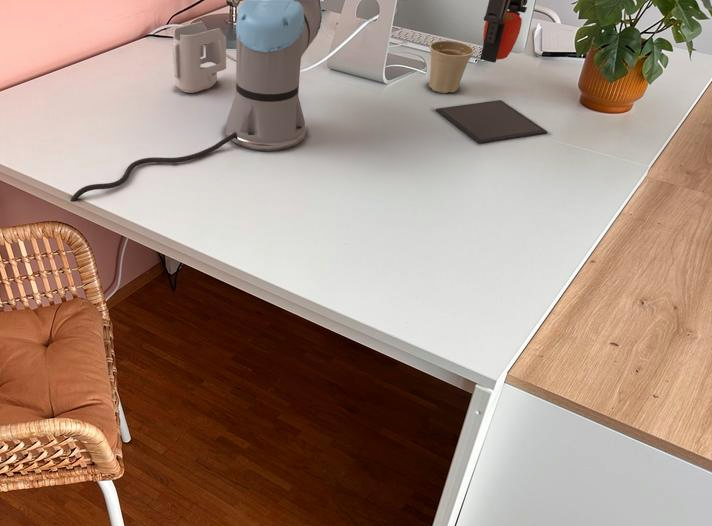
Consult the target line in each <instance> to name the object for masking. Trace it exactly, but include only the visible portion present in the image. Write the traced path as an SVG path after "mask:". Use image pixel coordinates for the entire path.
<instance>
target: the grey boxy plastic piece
mask: <svg viewBox="0 0 712 526" xmlns="http://www.w3.org/2000/svg"><path fill="white" fill-rule="evenodd" d="M172 36H173V44H172V54H173V55H172V56H173V58H172V59H173V60H172V61H173V76H174V78H175V87H177V89H179V90H180V91H181V92H183V93H188V94H189V93H190V94H191V93H197V92H201V91H203V90H208V89H210V88H212V87H213V86H214V85H215V84H216V82H217V81H218V73H219V72H222V71H225V70H226V69H227V37H226V36H225V34H224V32H223V31H222V29H221V27H217V28H214V29H209V30H208V28H207V27H206V25H205V23H204V21H202V20H201V21H196V22H193V23H189V24H185V25H182V26H178V27H175V28H173V30H172ZM204 46H205V47H204ZM204 48H205V51H204ZM204 54H205V57H204ZM207 63H212V64H213V65H210V66H201V65H205V64H207Z"/></svg>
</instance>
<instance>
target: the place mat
mask: <svg viewBox="0 0 712 526" xmlns="http://www.w3.org/2000/svg"><path fill="white" fill-rule="evenodd" d="M435 112H437V113H438V114H439V115H441V116H442V117H443V118H445V119H446V120H447V121H449V123H451V124H452V125H453V126H455V127H456V128H458V129H459V130H460V131H461V132H463V133H464V134H465V135H467V136H468V137H469V138H470V139H472V140H473V141H474V142H476V143H477V144H478V145H481V144H487V143H493V142H499V141H507V140H512V139H519V138H526V137H533V136H538V135H547V134H548V131H547V130H546V129H544V128H543V127H542V126H540V125H538V124H537V123H535V122H534V121H532V120H531V119H529V118H528V117H527V116H525V115H524V114H522V113H521V112H519V110H516V109H515V108H513V107H511V106H510V105H509V104H508V103H506V102H504V101H503V100H502V99H500V100H499V99H498V100H490V101H484V102H477V103H468V104H463V105H462V104H461V105H456V106H455V105H454V106H448V107H447V106H446V107H440V108H435Z"/></svg>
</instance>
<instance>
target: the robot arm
mask: <svg viewBox="0 0 712 526" xmlns="http://www.w3.org/2000/svg"><path fill="white" fill-rule="evenodd" d="M527 4H528V0H488V3H487V7H486V11H485V15H484V17H483V21H484V22H486V21H488V22H489V23H488V27H487V31H486V36H485V40H484V44H483V45H482V48H481V49H482V50H481V52H480V53H481V54H480V60H482V61H485V62H490V63H493V64H495V63H496V62H497V60H496V59H497V55H498V51H499V47H500V43H501V39H502V35H503V31H504V27H505V23H503V22H504V19H505V16H506V13H507V12H509V13H516V14H517V15H519V16H520V15H521V13H522V14H525V13H526V11H527V9H528V7H527ZM520 17H521V16H520ZM322 19H323V6H322V1H321V0H244V1H243V2H242V3H241V4H240V6H239V7H238V9H237V15H236V21H235V34H236V38H235V39H236V43H235V45H236V47H235V48H236V49H235V51H236V54H235V55H236V56H235V57H236V58H235V61H236V63H235V66H236V68H235V95H234V97H233V100H232V104H231V107H230V109H229V113H228V116H227V118H226V123H225V128H226V129H225V134H226V137H224V138H223V139H221V140H220V141H218V142H217V143H216V144H214V145H212V146H210V147H208V148H206V149H204V150H201V151H199V152H195V153H192V154H188V155H184V156H178V157H177V156H176V157H154V156H153V157H145V158H140V159H137V160H135V161H133V162H131V163H130V164H129V165H128V167H127V168H126V169H125V171H124V174H123V175H122V176H121V177H120V178H119V179H118V180H115V181H113V182H112V181H111V182H107V183H105V182H104V183H94V184H88V185H85V186H83V187H81V188H80V189H78V190H77V191H75V193H74V194H73V195H72V196H71V198H70V200H69V202H70V203H75V202H77V201H78V200H79V198H80V197H81V196H82V195H83V194H85V193H87V192H91V191H96V190H110V189H114V188H117V187H119V186H121V185H123V184H124V183H125V182H127V180H128V179H129V177H130V175H131V173H132V172H133V170H134V169H135V168H136V167H138V166H141V165H145V164H154V163H155V164H157V163H159V164H160V163H161V164H177V163H184V162H188V161H192V160H196V159H199V158H202V157H204V156H206V155H208V154H210V153H212V152H214V151H217V150H218V149H220V148H221V147H223V146H224V145H225V144H227V143H229V142H230V141H231V142H233V143H234V144H236V145H238V146H241V147H243V148H246V149H250V150H256V151H267V152H269V151H272V152H273V151H281V150H286V149H290V148H293V147H295V146H297V145H299V144H300V143H301V142H302V141H303V140H304V139H305V137H306V121H305V117H304V112H303V109H302V105H301V100H300V97H299V92H300V91H299V90H300V89H299V88H300V75H301V63H302V57H303V56H304V54H305V52H306V51H307V50H308V48H309V47H310V46H311V44H312V43H313V42H314V40H315V39H316V38H317V36H318V34H319V31H320V28H321V26H322V25H321V23H322Z"/></svg>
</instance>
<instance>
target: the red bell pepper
mask: <svg viewBox="0 0 712 526" xmlns="http://www.w3.org/2000/svg"><path fill="white" fill-rule="evenodd" d="M522 19H523V18H522V17H521V16H519V15H517V14H516V13H509V12H507V13H506V16H505V19H504V22H503V23H505V27H504V31H503V35H502V39H501V43H500V47H499V51H498V55H497V59H496V61H498V60H504V59H506V58H508V57H509V55H510V54H511V52H512V50H513V48H514V46H515V44H516V42H517V40H518V37H519V35H520V32H521V29H522V28H521V27H522V24H523V20H522ZM488 23H489V22H488V21H485V23H484V26H483V27H484V28H483V38H482V41H483V44H484V40H485V36H486V31H487V27H488Z"/></svg>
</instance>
